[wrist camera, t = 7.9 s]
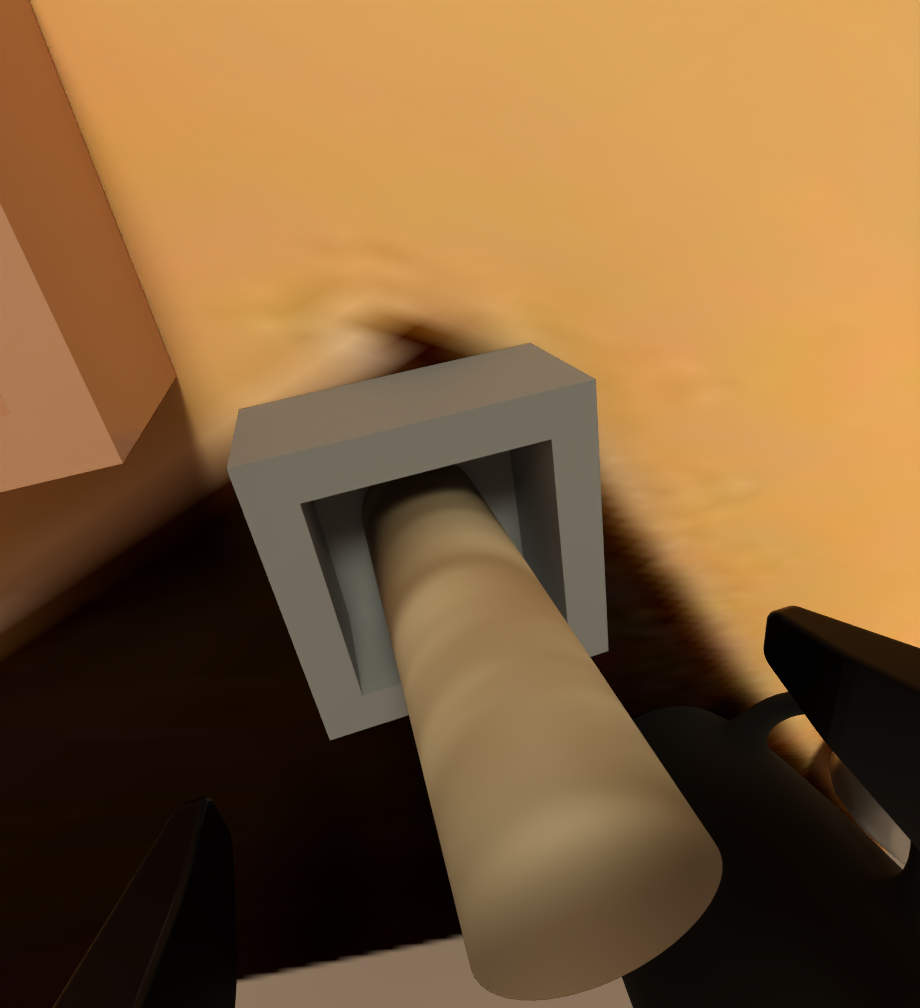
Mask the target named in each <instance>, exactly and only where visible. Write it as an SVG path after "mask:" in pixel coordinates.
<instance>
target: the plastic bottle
mask: <svg viewBox="0 0 920 1008" xmlns="http://www.w3.org/2000/svg"><path fill="white" fill-rule="evenodd" d="M829 770H830V774H831V779H832V783H833V787H834V790H835V793H836V795H837V796H838V798H839V799H840V800H841V802H842V803H843V805H844V806H845V807H846V809H847V810H848V812H849V813H850V814H851V816H852V817H853V819H854V820H855V821H856V823H857V824H858V825H859V826H860V827H861V828H862V829H863V830H864V831H865V832H866V833H867V834H868V835H870V836H871V837H872V838H873V839H874V840H875V841H877V842H878V843H879V844H880V845H881V846H882V847H884V848H885V849H886V850H887V851H888V852H889V853H890V854H892V855H893V856H894V857H895V858H897V859H898V860H899V861H901V862H902V863H903V864H905V865H906V862H907V860H908V856H909V850H910V839H909V838H908V837H907V836H906V835H905V834H904V832H903V831H902V830H901V829H900V828H899V827H898V826H897V824H896V823H895V822H894V821H893V820H892V819H891V818H890V816H889V815H888V814H887V813H886V812H885V811H884V810H883V808H882V807H881V806H880V805H879V804H878V803H877V801H876V800H875V799H874V798H873V797H872V796H871V795H870V793H869V792H868V791H867V790H866V789H865V788H864V787H863V785H862V784H861V783H860V782H859V781H858V780H857V779H856V777H855V776H854V775H853V774H852V773H851V772H850V771H849V769H848V768H847V767H846V766H845V765H844V764H843V762H842V761H841V760H840V759H839V758H838V757H837V756H836V754H835V753H834V752H833V751H832V753H831V756H830V760H829Z"/></svg>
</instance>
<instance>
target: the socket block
mask: <svg viewBox="0 0 920 1008" xmlns="http://www.w3.org/2000/svg"><path fill="white" fill-rule="evenodd" d="M453 464H456V465H457V466H458V467H460V468H461V469H462V470H463V471H464V472H465V473H466V474H467V475H468V476H469V478H470V479H471V481H472V482H473V484H474V485H475V487H476V488H477V489H478V491H479V492H480V494H481V495H482V497H483V498H484V500H485V501H486V503H487V504H488V506H489V507H490V509H491V510H492V512H493V513H494V515H495V516H496V518H497V519H498V521H499V522H500V524H501V525H502V527H503V528H504V530H505V531H506V533H507V534H508V536H509V537H510V539H511V540H512V542H513V543H514V545H515V546H516V548H517V549H518V551H519V552H520V554H521V555H522V557H523V558H524V559H525V561H526V562H527V564H528V565H529V567H530V568H531V570H532V571H533V573H534V574H535V576H536V577H537V579H538V580H539V582H540V583H541V585H542V586H543V588H544V589H545V591H546V592H547V594H548V595H549V597H550V598H551V600H552V601H553V603H554V604H555V606H556V607H557V609H558V610H559V612H560V613H561V615H562V616H563V618H564V619H565V621H566V622H567V624H568V625H569V627H570V628H571V629H572V631H573V632H574V634H575V635H576V637H577V638H578V640H579V641H580V643H581V644H582V646H583V647H584V649H585V650H586V652H587V653H588V655H589V656H590V657H591V656H594V655H597V654H600V653H603V652H607V651H608V633H607V611H606V590H605V568H604V547H603V525H602V504H601V482H600V461H599V439H598V418H597V396H596V379H594V378H593V377H591V376H589V375H587V374H585V373H584V372H582V371H580V370H578V369H576V368H575V367H573V366H571V365H569V364H567V363H566V362H564V361H562V360H560V359H558V358H557V357H555V356H553V355H551V354H549V353H548V352H546V351H544V350H542V349H540V348H539V347H537V346H535V345H533V344H531V343H528V344H524V345H519V346H515V347H510V348H506V349H502V350H497V351H493V352H489V353H484V354H480V355H475V356H471V357H467V358H462V359H458V360H453V361H449V362H445V363H440V364H436V365H432V366H427V367H423V368H418V369H414V370H410V371H405V372H401V373H397V374H392V375H388V376H383V377H379V378H375V379H370V380H366V381H361V382H357V383H353V384H348V385H344V386H340V387H335V388H331V389H326V390H322V391H318V392H313V393H309V394H304V395H300V396H296V397H291V398H287V399H283V400H278V401H274V402H269V403H265V404H261V405H256V406H252V407H248V408H243V409H239V412H238V417H237V422H236V427H235V431H234V436H233V441H232V446H231V450H230V455H229V460H228V465H227V471H228V474H229V476H230V479H231V482H232V484H233V487H234V489H235V492H236V495H237V497H238V500H239V503H240V505H241V508H242V510H243V513H244V516H245V518H246V521H247V524H248V526H249V529H250V531H251V534H252V537H253V539H254V542H255V545H256V547H257V550H258V552H259V555H260V558H261V560H262V563H263V566H264V568H265V571H266V573H267V576H268V579H269V581H270V584H271V587H272V589H273V592H274V594H275V597H276V600H277V602H278V605H279V608H280V610H281V613H282V615H283V618H284V621H285V623H286V626H287V629H288V631H289V634H290V636H291V639H292V642H293V644H294V647H295V650H296V652H297V655H298V658H299V660H300V663H301V665H302V668H303V671H304V673H305V676H306V679H307V681H308V684H309V686H310V689H311V692H312V694H313V697H314V700H315V702H316V705H317V707H318V710H319V713H320V715H321V718H322V721H323V723H324V726H325V728H326V731H327V734H328V736H329V739H330V740H332V739H336V738H339V737H342V736H345V735H348V734H351V733H354V732H357V731H361V730H364V729H367V728H370V727H373V726H376V725H379V724H382V723H385V722H389V721H392V720H395V719H398V718H401V717H404V716H407V715H409V713H408V709H407V705H406V701H405V696H404V692H403V688H402V684H401V680H400V676H399V672H398V668H397V664H396V660H395V655H394V651H393V647H392V643H391V639H390V635H389V631H388V627H387V623H386V618H385V614H384V610H383V606H382V602H381V598H380V594H379V590H378V586H377V582H376V577H375V573H374V569H373V565H372V561H371V557H370V553H369V549H368V545H367V541H366V536H365V532H364V528H363V523H362V505H363V501H364V498H365V495H366V493H367V491H368V489H369V487H370V486H371V485H375V484H379V483H383V482H387V481H391V480H394V479H398V478H402V477H406V476H410V475H414V474H418V473H422V472H426V471H430V470H433V469H437V468H441V467H445V466H449V465H453Z"/></svg>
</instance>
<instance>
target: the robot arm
mask: <svg viewBox="0 0 920 1008" xmlns="http://www.w3.org/2000/svg"><path fill="white" fill-rule="evenodd" d="M764 655H765V658H766V660H767V662H768V664H769V665H770V667H771V668H772V669H773V671H774V672H775V674H776V675H777V676H778V678H779V679H780V681H781V682H782V683H783V685H784V686H785V687H786V689H787V690H788V692H789V693H790V694H791V696H792V697H793V699H794V700H795V701H796V703H797V704H798V706H799V707H800V708H801V710H802V711H803V712H804V714H805V715H806V717H807V718H808V719H809V721H810V722H811V724H812V725H813V726H814V728H815V729H816V731H817V732H818V733H819V734H820V736H821V737H822V738H823V740H824V741H825V742H826V744H827V745H828V746H829V747H830V748H831V750H832V751H833V752H834V753H835V754H836V756H837V757H838V758H839V759H840V760H841V761H842V762H843V764H844V765H845V766H846V767H847V768H848V769H849V771H850V772H851V773H852V774H853V775H854V776H855V777H856V779H857V780H858V781H859V782H860V783H861V784H862V785H863V787H864V788H865V789H866V790H867V791H868V792H869V793H870V795H871V796H872V797H873V798H874V799H875V800H876V801H877V803H878V804H879V805H880V806H881V807H882V808H883V810H884V811H885V812H886V813H887V814H888V815H889V816H890V818H891V819H892V820H893V821H894V822H895V823H896V824H897V826H898V827H899V828H900V829H901V830H902V831H903V832H904V834H905V835H906V836H907V837H908V838H909V839H910V841H911V842H912V843H913V844H914V845H915V846H916V847H917V849H918V850H919V851H920V648H918V647H915V646H912V645H909V644H906V643H903V642H900V641H897V640H894V639H891V638H888V637H886V636H883V635H880V634H877V633H874V632H871V631H868V630H865V629H862V628H859V627H856V626H853V625H851V624H848V623H845V622H842V621H839V620H836V619H833V618H830V617H827V616H824V615H821V614H818V613H816V612H813V611H810V610H807V609H804V608H801V607H798V606H788V607H785V608H782V609H778V610H775V611H773V612H771V613H770V614H769V615H768V618H767V624H766V632H765V640H764ZM236 983H237V935H236V912H235V889H234V866H233V845H232V839H231V834H230V831H229V829H228V827H227V825H226V824H225V822H224V820H223V818H222V816H221V815H220V813H219V811H218V809H217V807H216V806H215V804H214V802H213V801H212V799H211V798H209V797H207V796H206V797H201V798H198V799H195V800H191V801H188V802H185V803H183V804H181V805H179V806H178V807H177V808H176V809H175V810H174V812H173V813H172V815H171V816H170V818H169V820H168V821H167V823H166V825H165V826H164V828H163V829H162V831H161V833H160V834H159V836H158V838H157V839H156V841H155V842H154V844H153V846H152V847H151V849H150V850H149V852H148V854H147V855H146V857H145V859H144V860H143V862H142V863H141V865H140V867H139V868H138V870H137V872H136V873H135V875H134V876H133V878H132V880H131V881H130V883H129V885H128V886H127V888H126V889H125V891H124V893H123V894H122V896H121V898H120V899H119V901H118V902H117V904H116V906H115V907H114V909H113V910H112V912H111V914H110V915H109V917H108V919H107V920H106V922H105V923H104V925H103V927H102V928H101V930H100V932H99V933H98V935H97V936H96V938H95V940H94V941H93V943H92V945H91V946H90V948H89V949H88V951H87V953H86V954H85V956H84V957H83V959H82V961H81V962H80V964H79V966H78V967H77V969H76V970H75V972H74V974H73V975H72V977H71V979H70V980H69V982H68V983H67V985H66V987H65V988H64V990H63V992H62V993H61V995H60V996H59V998H58V1000H57V1001H56V1003H55V1004H54V1006H53V1008H235V999H236Z"/></svg>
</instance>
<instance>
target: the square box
mask: <svg viewBox="0 0 920 1008" xmlns="http://www.w3.org/2000/svg"><path fill="white" fill-rule="evenodd" d="M175 378H176V374H175V371H174V369H173V366H172V364H171V361H170V359H169V356H168V353H167V351H166V348H165V346H164V343H163V341H162V338H161V336H160V333H159V331H158V328H157V325H156V323H155V320H154V318H153V315H152V313H151V310H150V308H149V305H148V303H147V300H146V297H145V295H144V292H143V290H142V287H141V285H140V282H139V280H138V277H137V275H136V272H135V269H134V267H133V264H132V262H131V259H130V257H129V254H128V252H127V249H126V247H125V244H124V241H123V239H122V236H121V234H120V231H119V229H118V226H117V224H116V221H115V219H114V216H113V214H112V211H111V208H110V206H109V203H108V201H107V198H106V196H105V193H104V191H103V188H102V186H101V183H100V180H99V178H98V175H97V173H96V170H95V168H94V165H93V163H92V160H91V158H90V155H89V152H88V150H87V147H86V145H85V142H84V140H83V137H82V135H81V132H80V130H79V127H78V124H77V122H76V119H75V117H74V114H73V112H72V109H71V107H70V104H69V102H68V99H67V96H66V94H65V91H64V89H63V86H62V84H61V81H60V79H59V76H58V74H57V71H56V68H55V66H54V63H53V61H52V58H51V56H50V53H49V51H48V48H47V46H46V43H45V40H44V38H43V35H42V33H41V30H40V28H39V25H38V23H37V20H36V18H35V15H34V13H33V10H32V7H31V5H30V2H29V0H0V492H4V491H8V490H12V489H16V488H21V487H25V486H29V485H33V484H38V483H42V482H46V481H51V480H55V479H59V478H63V477H68V476H72V475H76V474H80V473H85V472H89V471H93V470H97V469H102V468H106V467H110V466H114V465H119V464H123V462H124V461H125V459H126V457H127V456H128V454H129V453H130V451H131V449H132V448H133V446H134V444H135V443H136V441H137V440H138V438H139V436H140V435H141V433H142V431H143V430H144V428H145V427H146V425H147V423H148V422H149V420H150V418H151V417H152V415H153V414H154V412H155V410H156V409H157V407H158V405H159V404H160V402H161V401H162V399H163V397H164V396H165V394H166V393H167V391H168V389H169V388H170V386H171V384H172V383H173V381H174V380H175Z"/></svg>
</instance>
